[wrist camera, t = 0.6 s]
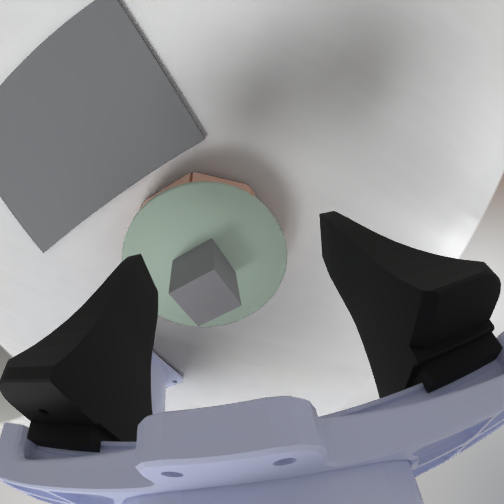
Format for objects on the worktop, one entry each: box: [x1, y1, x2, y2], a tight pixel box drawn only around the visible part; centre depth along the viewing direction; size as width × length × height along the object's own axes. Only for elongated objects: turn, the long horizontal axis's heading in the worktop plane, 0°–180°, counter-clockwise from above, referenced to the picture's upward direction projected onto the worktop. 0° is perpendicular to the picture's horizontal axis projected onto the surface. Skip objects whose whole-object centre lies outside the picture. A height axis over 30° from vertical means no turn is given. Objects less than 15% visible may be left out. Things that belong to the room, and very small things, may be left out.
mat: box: [0, 0, 205, 253], centre depth 17 cm, size 16×13×1 cm
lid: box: [122, 181, 287, 327], centre depth 19 cm, size 11×11×4 cm
